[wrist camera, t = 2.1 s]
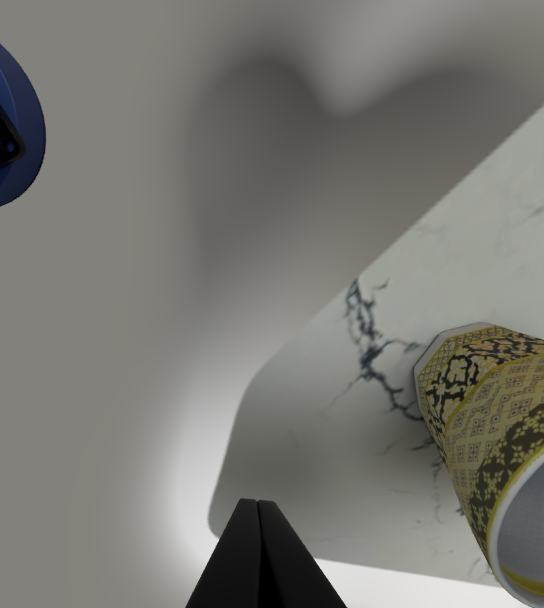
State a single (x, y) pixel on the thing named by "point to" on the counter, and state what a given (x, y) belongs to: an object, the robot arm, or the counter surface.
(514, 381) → the ceramic cup
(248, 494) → the counter surface
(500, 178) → the counter surface
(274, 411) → the counter surface
